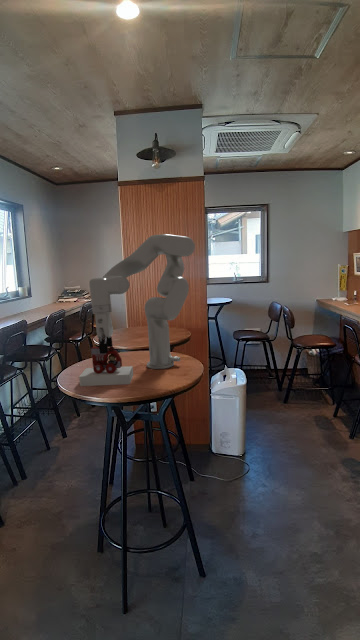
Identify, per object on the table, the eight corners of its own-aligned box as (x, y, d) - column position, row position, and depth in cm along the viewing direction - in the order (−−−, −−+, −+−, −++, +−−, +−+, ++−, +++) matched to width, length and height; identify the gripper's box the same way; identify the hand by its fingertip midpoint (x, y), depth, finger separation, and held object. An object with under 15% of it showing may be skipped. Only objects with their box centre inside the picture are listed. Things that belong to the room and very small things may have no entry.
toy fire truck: (119, 373, 149) (117, 348, 147) (89, 374, 150) (87, 349, 148) (123, 368, 156) (122, 344, 154) (95, 368, 157) (93, 344, 155)
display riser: (133, 375, 159) (132, 366, 158) (129, 384, 148) (129, 374, 147) (86, 377, 159) (86, 368, 158) (80, 386, 148) (79, 376, 148)
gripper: (106, 312, 140) (111, 355, 143) (115, 304, 157) (119, 343, 160) (87, 313, 140) (92, 356, 143) (97, 306, 157) (101, 344, 160)
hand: (106, 349), depth 152 cm, fingers open, 9 cm apart
